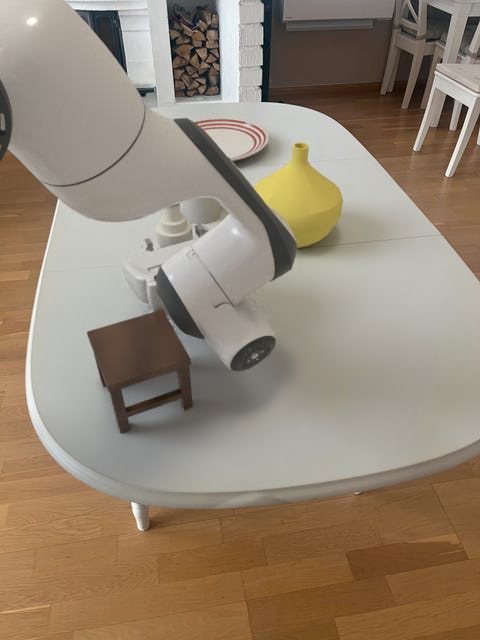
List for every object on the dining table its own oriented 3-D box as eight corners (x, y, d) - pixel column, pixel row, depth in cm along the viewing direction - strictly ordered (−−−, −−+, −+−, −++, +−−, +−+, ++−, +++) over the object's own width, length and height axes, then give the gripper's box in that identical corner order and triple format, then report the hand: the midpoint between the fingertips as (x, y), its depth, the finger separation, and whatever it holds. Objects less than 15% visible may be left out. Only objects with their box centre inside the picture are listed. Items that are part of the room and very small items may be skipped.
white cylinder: (226, 210, 116) (226, 158, 108) (208, 227, 110) (205, 174, 102) (195, 201, 118) (192, 150, 110) (175, 217, 113) (171, 165, 105)
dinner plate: (194, 180, 126) (193, 167, 124) (150, 140, 144) (148, 128, 141) (288, 156, 136) (288, 144, 134) (236, 122, 154) (236, 110, 152)
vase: (264, 206, 117) (267, 121, 104) (345, 221, 112) (359, 133, 100) (236, 249, 104) (236, 158, 91) (326, 268, 99) (340, 174, 87)
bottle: (169, 298, 90) (158, 206, 78) (157, 279, 94) (146, 189, 82) (200, 289, 92) (195, 197, 80) (188, 270, 96) (181, 181, 84)
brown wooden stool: (119, 435, 70) (107, 386, 64) (99, 380, 78) (86, 331, 71) (194, 407, 74) (190, 358, 67) (168, 357, 81) (162, 309, 75)
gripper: (268, 248, 78) (228, 203, 87) (138, 288, 72) (109, 235, 81) (266, 280, 83) (229, 234, 91) (144, 320, 76) (116, 266, 85)
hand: (172, 234), depth 86 cm, fingers open, 8 cm apart
